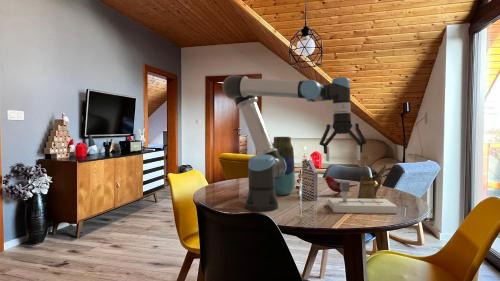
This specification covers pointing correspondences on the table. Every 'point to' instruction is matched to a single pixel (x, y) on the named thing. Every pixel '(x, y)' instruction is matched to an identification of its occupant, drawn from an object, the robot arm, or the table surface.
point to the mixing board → (362, 205)
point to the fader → (344, 189)
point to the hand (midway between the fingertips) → (343, 160)
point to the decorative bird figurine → (334, 185)
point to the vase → (288, 178)
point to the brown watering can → (370, 186)
